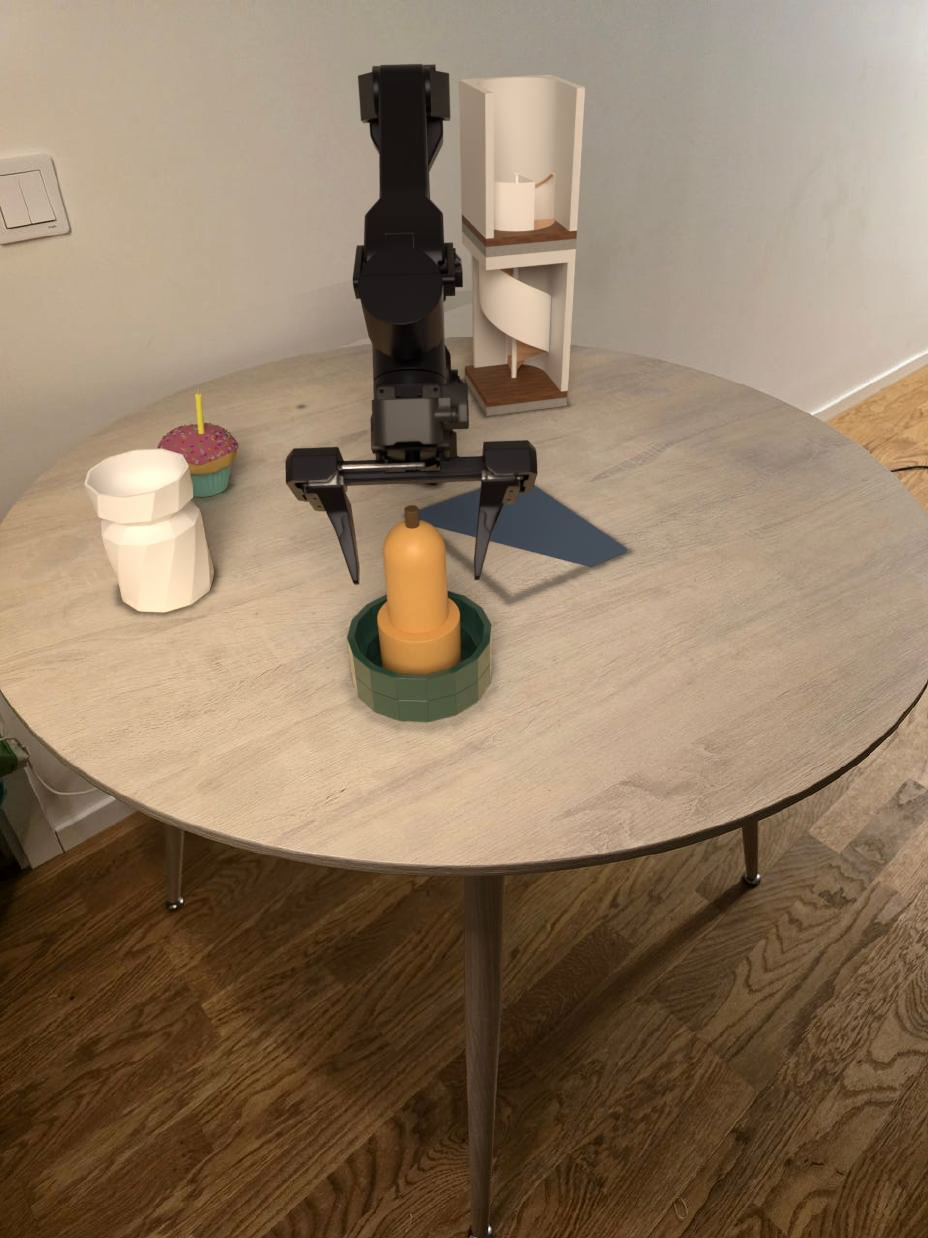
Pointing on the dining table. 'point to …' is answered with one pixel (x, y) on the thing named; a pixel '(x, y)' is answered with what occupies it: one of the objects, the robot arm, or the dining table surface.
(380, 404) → the robot arm
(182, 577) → the vase
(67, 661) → the dining table surface
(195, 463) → the cupcake
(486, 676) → the pot
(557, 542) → the towel
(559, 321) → the white tower
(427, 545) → the squash
